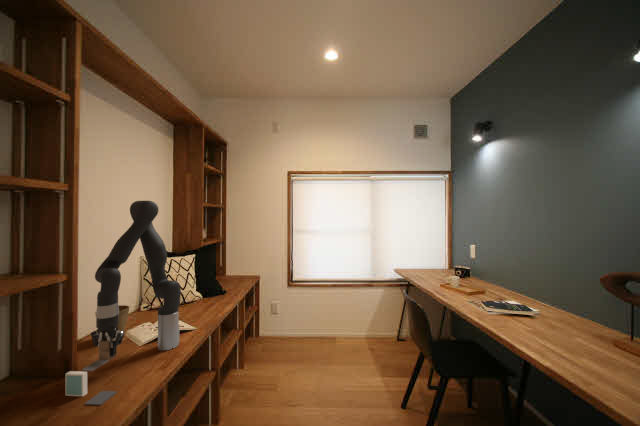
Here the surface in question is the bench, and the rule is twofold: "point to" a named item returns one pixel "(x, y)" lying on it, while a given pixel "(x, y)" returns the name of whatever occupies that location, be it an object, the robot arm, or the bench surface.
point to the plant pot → (122, 316)
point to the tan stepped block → (101, 356)
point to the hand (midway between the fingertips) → (107, 355)
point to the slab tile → (75, 383)
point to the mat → (101, 398)
